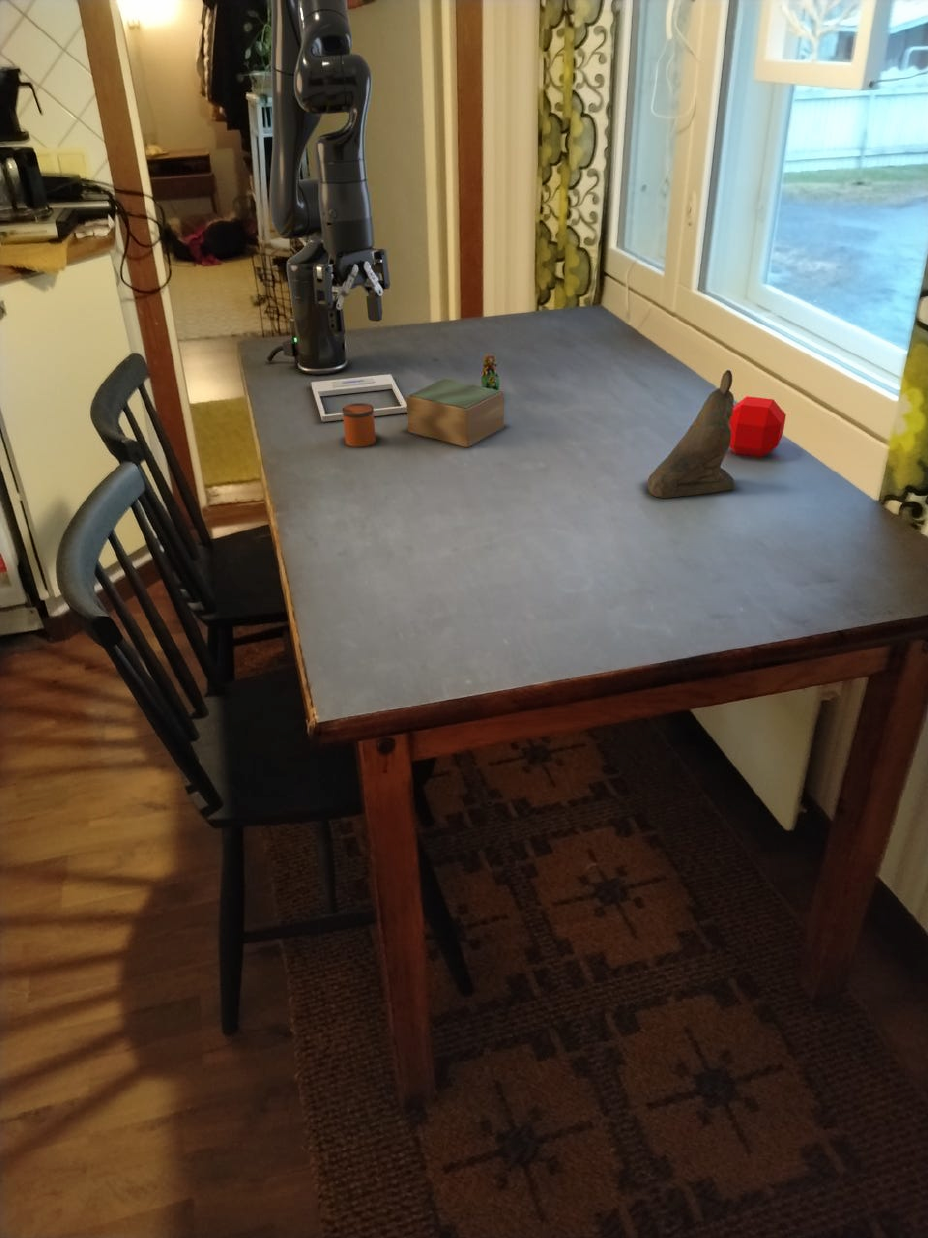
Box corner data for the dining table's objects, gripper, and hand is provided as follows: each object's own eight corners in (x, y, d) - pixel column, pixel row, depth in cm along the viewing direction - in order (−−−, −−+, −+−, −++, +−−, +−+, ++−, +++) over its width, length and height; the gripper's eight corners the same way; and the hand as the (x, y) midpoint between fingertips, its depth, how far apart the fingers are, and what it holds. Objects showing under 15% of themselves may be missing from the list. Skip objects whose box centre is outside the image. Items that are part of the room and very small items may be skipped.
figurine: (495, 388, 172) (495, 343, 167) (503, 412, 162) (502, 364, 157) (478, 389, 171) (477, 344, 167) (485, 413, 161) (484, 365, 157)
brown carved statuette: (718, 492, 139) (759, 370, 130) (731, 508, 134) (775, 382, 125) (641, 483, 136) (677, 358, 127) (652, 498, 132) (691, 370, 123)
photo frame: (390, 373, 177) (408, 405, 162) (390, 379, 177) (408, 412, 162) (311, 381, 174) (321, 415, 159) (311, 387, 175) (322, 421, 160)
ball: (782, 444, 146) (790, 396, 142) (773, 464, 140) (781, 414, 136) (729, 437, 149) (735, 390, 145) (718, 456, 143) (724, 407, 139)
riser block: (408, 432, 155) (405, 394, 152) (445, 413, 162) (444, 377, 159) (467, 447, 149) (466, 409, 146) (504, 427, 156) (503, 390, 152)
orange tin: (339, 442, 152) (335, 410, 149) (359, 432, 156) (356, 400, 153) (362, 449, 150) (359, 416, 147) (382, 439, 153) (380, 406, 150)
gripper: (358, 205, 145) (368, 313, 154) (292, 220, 136) (307, 335, 144) (397, 207, 141) (405, 319, 150) (332, 223, 132) (344, 342, 140)
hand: (357, 327), depth 147 cm, fingers open, 8 cm apart
